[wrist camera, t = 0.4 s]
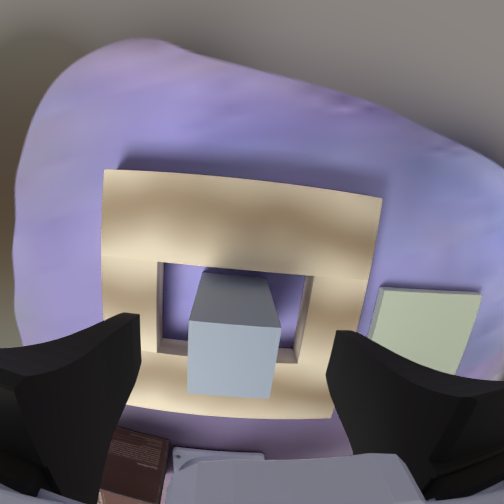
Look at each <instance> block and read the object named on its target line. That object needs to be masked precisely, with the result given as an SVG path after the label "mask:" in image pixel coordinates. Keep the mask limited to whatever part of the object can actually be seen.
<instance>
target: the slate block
mask: <svg viewBox="0 0 504 504" xmlns="http://www.w3.org/2000/svg"><path fill="white" fill-rule="evenodd" d="M281 329H282V327H281V324H280V321H279V318H278V315H277V311H276V308H275V305H274V302H273V299H272V295H271V292H270V289H269V286H268V283H267V279H266V278H261V277H250V276H239V275H228V274H217V273H206V272H203V273H202V276H201V280H200V283H199V287H198V290H197V293H196V297H195V300H194V304H193V307H192V311H191V315H190V318H189V330H188V365H187V393H194V394H204V395H215V396H228V397H244V398H266V399H269V398H270V392H271V387H272V381H273V376H274V370H275V364H276V359H277V353H278V347H279V341H280V335H281Z"/></svg>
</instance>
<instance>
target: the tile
mask: <svg viewBox="0 0 504 504" xmlns="http://www.w3.org/2000/svg"><path fill="white" fill-rule="evenodd" d="M482 296H483V295H481V294H480V293H478V292H466V291H446V290H427V289H409V288H393V287H380V288H379V292H378V297H377V301H376V305H375V309H374V313H373V317H372V321H371V325H370V329H369V332H368V336H367V338H369V339H371V340H372V341H374V342H376V343H378V344H380V345H381V346H383V347H385V348H387V349H389V350H391V351H393V352H395V353H396V354H398V355H400V356H403V357H405V358H407V359H409V360H411V361H413V362H416V363H418V364H421V365H423V366H426V367H429V368H431V369H434V370H437V371H441V372H444V373H448V374H452V375H455V373H456V370H457V368H458V366H459V363H460V361H461V358H462V355H463V353H464V350H465V348H466V345H467V342H468V339H469V337H470V334H471V331H472V328H473V325H474V322H475V319H476V316H477V313H478V309H479V306H480V303H481V299H482Z"/></svg>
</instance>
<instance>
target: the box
mask: <svg viewBox="0 0 504 504" xmlns="http://www.w3.org/2000/svg"><path fill="white" fill-rule="evenodd" d="M169 443H170V442H169V440H166V439H162V438H158V437H154V436H150V435H145V434H142V433H137V432H134V431H130V430H126V429H123V428H120V427H117V426H116V428H115V431H114V433H113V436H112V440H111V443H110V447H109V451H108V454H107V458H106V462H105V467H104V471H103V475H102V480H101V485H100V491H99V496H98V503H97V504H160V501H161V496H162V490H163V484H164V479H165V473H166V468H167V460H168V452H169Z"/></svg>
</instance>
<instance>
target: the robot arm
mask: <svg viewBox="0 0 504 504" xmlns="http://www.w3.org/2000/svg"><path fill="white" fill-rule="evenodd" d="M141 363H142V358H141V336H140V314H134V313H127V312H123V313H120V314H117V315H115V316H113V317H110V318H108V319H106V320H104V321H102V322H100V323H98V324H95V325H93V326H91V327H89V328H86V329H84V330H81V331H79V332H77V333H74V334H72V335H69V336H66V337H63V338H60V339H57V340H53V341H49V342H45V343H41V344H35V345H29V346H24V347H15V348H0V504H97V503H98V496H99V491H100V485H101V480H102V475H103V471H104V467H105V462H106V458H107V454H108V451H109V447H110V443H111V440H112V436H113V433H114V431H115V428H116V425H117V423H118V421H119V419H120V416H121V414H122V412H123V410H124V408H125V405H126V403H127V401H128V399H129V397H130V394H131V392H132V390H133V388H134V386H135V383H136V380H137V377H138V374H139V370H140V366H141ZM325 376H326V381H327V385H328V389H329V393H330V396H331V399H332V401H333V404H334V406H335V408H336V411H337V413H338V415H339V418H340V420H341V422H342V424H343V427H344V429H345V431H346V434H347V436H348V438H349V441H350V444H351V447H352V450H353V454H354V455H349V456H339V457H328V458H314V459H293V460H264V459H265V458H264V454H262V453H246V452H225V451H211V450H200V449H190V448H181V447H175V448H173V450H172V457H173V470H174V474H173V477H172V479H171V481H170V483H169V486H168V488H167V493H166V500H165V504H504V381H489V380H479V379H472V378H466V377H461V376H456V375H452V374H448V373H444V372H441V371H437V370H434V369H431V368H429V367H426V366H423V365H421V364H418V363H416V362H413V361H411V360H409V359H407V358H405V357H403V356H400V355H398V354H396V353H395V352H393V351H391V350H389V349H387V348H385V347H383V346H381V345H380V344H378V343H376V342H374V341H372V340H371V339H369V338H367V337H365V336H363V335H361V334H359V333H357V332H354V331H352V330H336V334H335V338H334V342H333V346H332V351H331V355H330V359H329V363H328V367H327V370H326V374H325Z"/></svg>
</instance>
